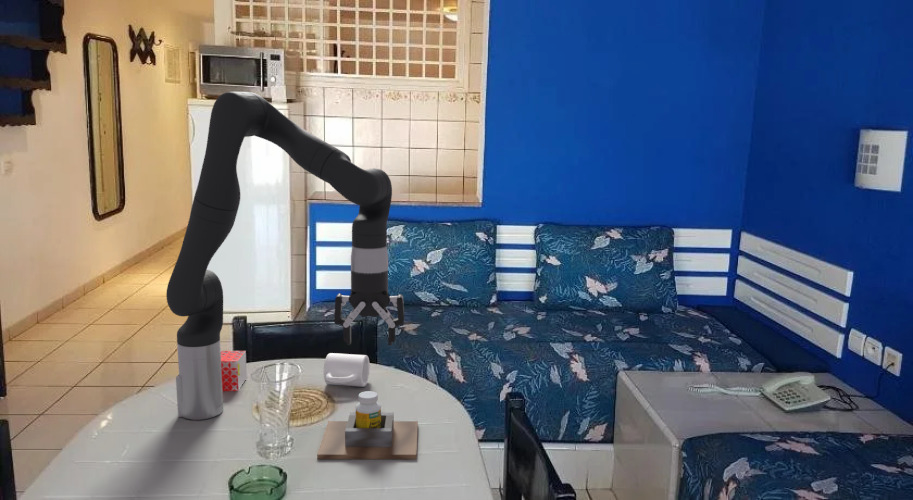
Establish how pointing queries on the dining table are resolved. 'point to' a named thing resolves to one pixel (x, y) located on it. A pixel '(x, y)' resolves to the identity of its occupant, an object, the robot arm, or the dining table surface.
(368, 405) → the supplement bottle
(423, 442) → the dining table surface
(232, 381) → the red patterned cube
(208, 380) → the robot arm
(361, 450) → the dock socket
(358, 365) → the mug
